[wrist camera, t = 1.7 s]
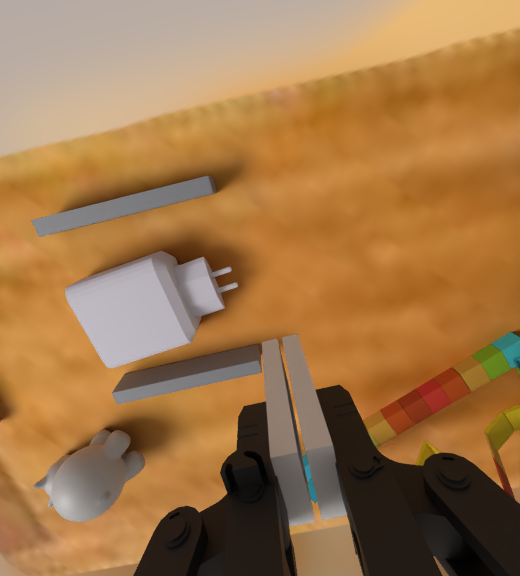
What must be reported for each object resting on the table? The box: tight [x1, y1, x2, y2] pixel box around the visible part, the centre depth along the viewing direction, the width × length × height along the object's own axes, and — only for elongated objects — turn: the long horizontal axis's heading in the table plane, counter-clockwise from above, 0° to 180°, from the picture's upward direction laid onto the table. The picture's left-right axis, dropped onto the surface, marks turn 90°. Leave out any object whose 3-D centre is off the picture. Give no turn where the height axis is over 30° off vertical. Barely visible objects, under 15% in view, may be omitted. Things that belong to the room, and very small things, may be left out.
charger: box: [65, 251, 238, 369], centre depth 31 cm, size 5×9×15 cm
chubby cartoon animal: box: [34, 430, 145, 522], centre depth 36 cm, size 7×12×8 cm, turn 108°
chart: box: [303, 332, 520, 504], centre depth 32 cm, size 30×3×15 cm, turn 127°
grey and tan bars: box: [0, 176, 262, 422], centre depth 31 cm, size 34×22×4 cm, turn 103°
